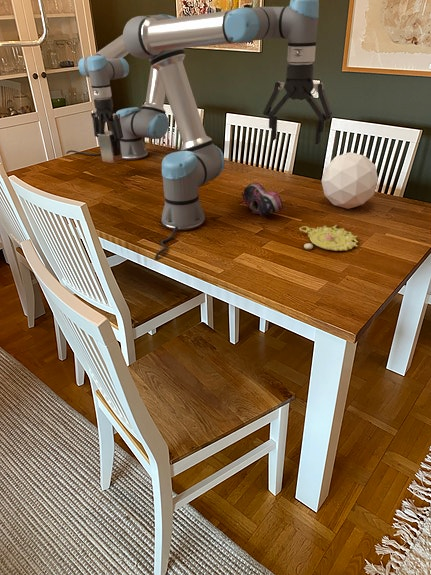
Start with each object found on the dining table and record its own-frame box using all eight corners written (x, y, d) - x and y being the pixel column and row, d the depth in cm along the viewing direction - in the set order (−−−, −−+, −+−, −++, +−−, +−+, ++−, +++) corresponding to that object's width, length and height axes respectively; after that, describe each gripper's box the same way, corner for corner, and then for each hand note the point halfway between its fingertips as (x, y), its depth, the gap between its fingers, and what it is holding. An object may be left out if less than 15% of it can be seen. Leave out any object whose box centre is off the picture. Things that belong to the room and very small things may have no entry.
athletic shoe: (254, 181, 170) (227, 189, 167) (283, 176, 151) (253, 185, 147) (260, 210, 173) (234, 218, 170) (290, 209, 154) (261, 219, 150)
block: (111, 157, 200) (107, 130, 193) (122, 158, 197) (118, 131, 191) (102, 161, 195) (97, 134, 189) (113, 163, 193) (109, 135, 186)
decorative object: (343, 255, 128) (285, 234, 139) (342, 262, 130) (284, 241, 140) (372, 230, 142) (317, 213, 152) (371, 237, 143) (316, 219, 153)
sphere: (353, 227, 164) (368, 198, 145) (307, 200, 169) (316, 169, 150) (378, 190, 169) (396, 158, 150) (333, 165, 174) (345, 131, 155)
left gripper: (78, 98, 183) (89, 154, 196) (115, 101, 176) (124, 158, 188) (90, 95, 189) (100, 149, 201) (127, 97, 181) (134, 154, 194)
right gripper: (253, 63, 124) (252, 140, 136) (343, 65, 115) (333, 148, 127) (262, 61, 130) (260, 135, 141) (348, 62, 121) (339, 141, 132)
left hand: (111, 154), depth 195 cm, fingers closed on block, 6 cm apart
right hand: (295, 141), depth 134 cm, fingers open, 13 cm apart
